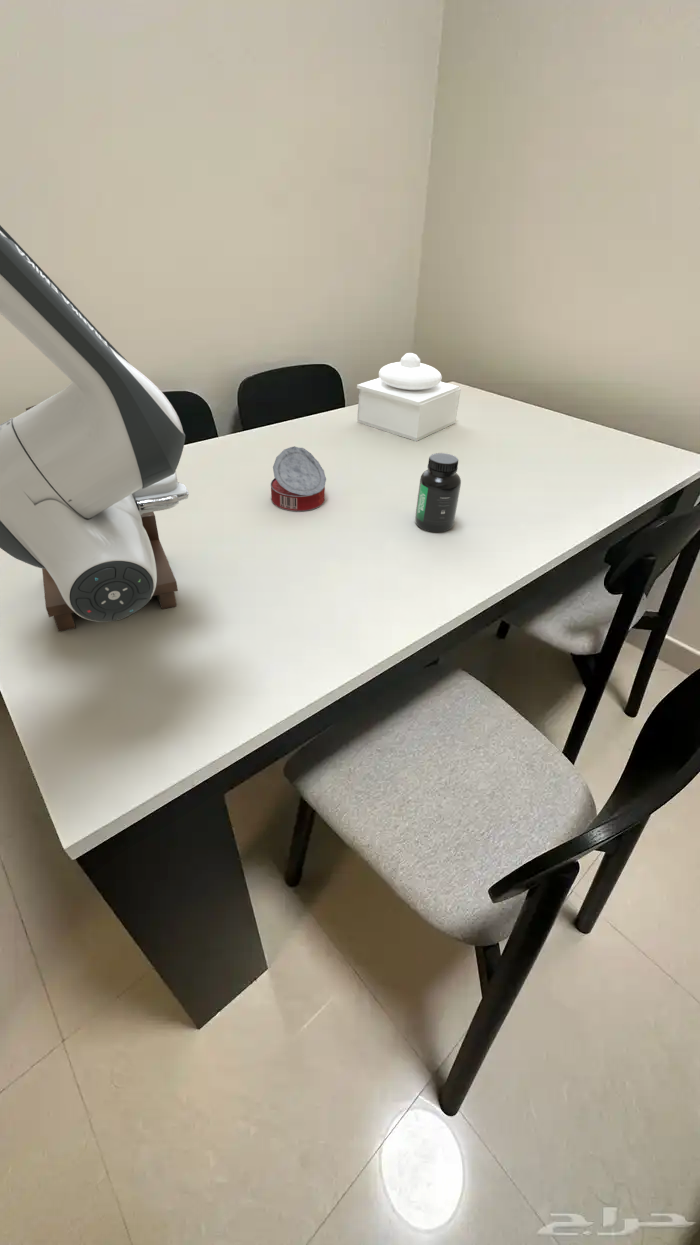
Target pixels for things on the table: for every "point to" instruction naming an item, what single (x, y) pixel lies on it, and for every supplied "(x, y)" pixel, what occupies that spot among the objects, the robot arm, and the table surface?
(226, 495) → the table surface
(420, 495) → the supplement bottle
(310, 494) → the canned food
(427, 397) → the white lidded box
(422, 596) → the table surface
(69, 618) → the shelf
